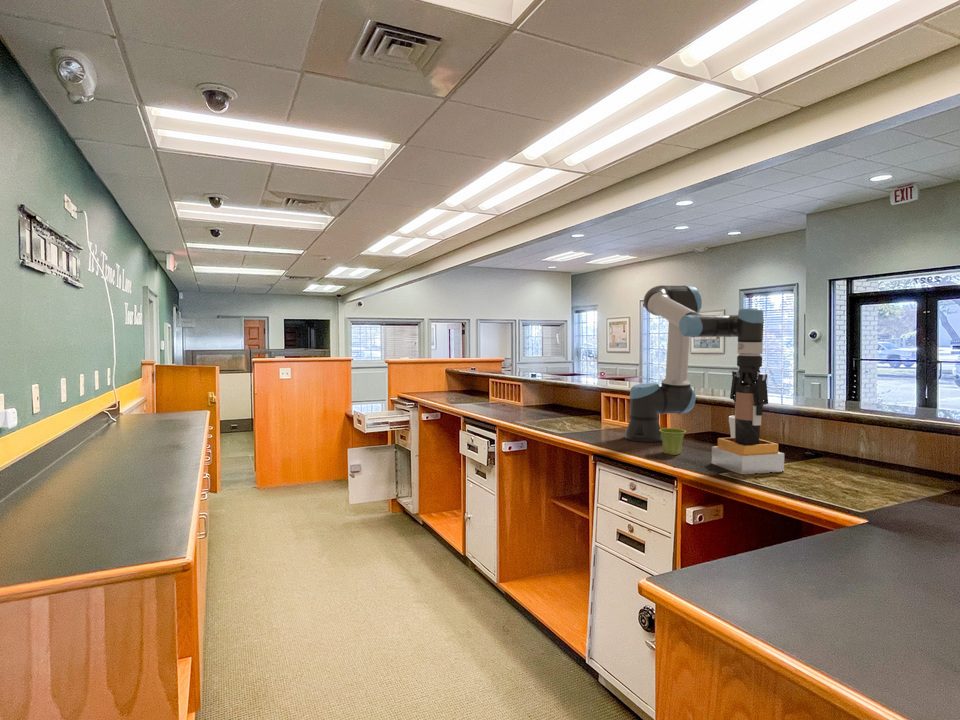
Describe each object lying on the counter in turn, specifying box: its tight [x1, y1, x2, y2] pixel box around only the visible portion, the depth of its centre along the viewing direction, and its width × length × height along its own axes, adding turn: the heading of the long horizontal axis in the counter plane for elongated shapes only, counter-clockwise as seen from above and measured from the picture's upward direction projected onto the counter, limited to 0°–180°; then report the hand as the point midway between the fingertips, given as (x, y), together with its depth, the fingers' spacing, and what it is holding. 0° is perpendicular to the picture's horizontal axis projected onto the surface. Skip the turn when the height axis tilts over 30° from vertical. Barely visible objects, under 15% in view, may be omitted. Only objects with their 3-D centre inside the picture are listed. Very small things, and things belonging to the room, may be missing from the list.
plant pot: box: [659, 427, 687, 456], centre depth 205 cm, size 9×9×9 cm
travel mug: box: [734, 384, 761, 445], centre depth 183 cm, size 8×8×20 cm
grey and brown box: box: [710, 436, 785, 475], centre depth 184 cm, size 15×21×9 cm
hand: (747, 423), depth 183 cm, fingers closed on travel mug, 8 cm apart
